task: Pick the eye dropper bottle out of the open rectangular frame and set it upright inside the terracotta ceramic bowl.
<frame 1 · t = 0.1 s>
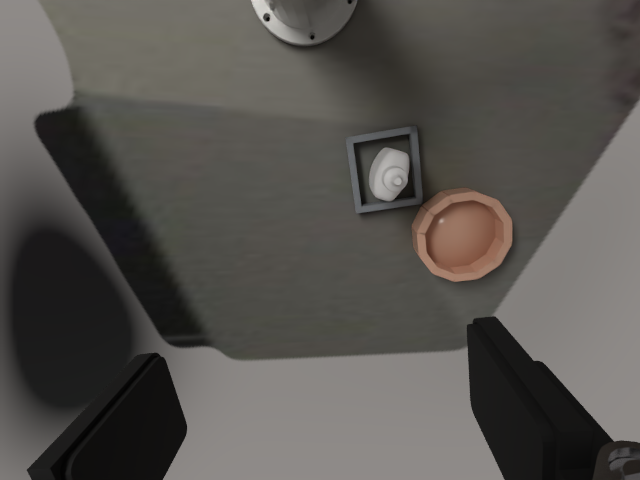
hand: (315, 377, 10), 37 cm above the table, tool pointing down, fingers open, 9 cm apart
eye dropper bottle: (383, 169, 44), resting in open rectangular frame
bowl: (455, 231, 46), on the table
open rectangular frame: (383, 170, 44), on the table
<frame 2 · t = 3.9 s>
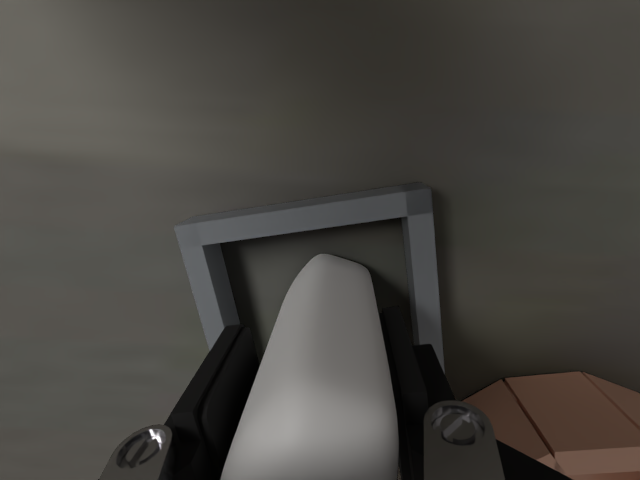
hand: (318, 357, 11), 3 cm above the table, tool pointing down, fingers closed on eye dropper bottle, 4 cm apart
eye dropper bottle: (323, 313, 14), resting in open rectangular frame, touching gripper
open rectangular frame: (322, 315, 14), on the table
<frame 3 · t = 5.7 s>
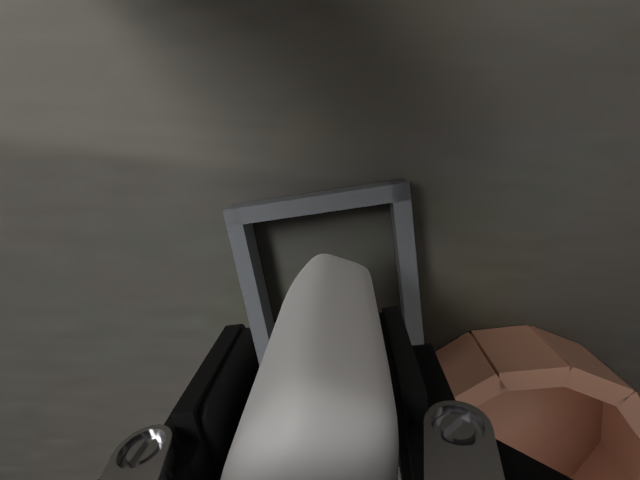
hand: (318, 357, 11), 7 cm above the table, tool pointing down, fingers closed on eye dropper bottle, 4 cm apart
eye dropper bottle: (323, 313, 14), point 4 cm above the table, touching gripper
bowl: (501, 415, 20), on the table
open rectangular frame: (330, 281, 18), on the table
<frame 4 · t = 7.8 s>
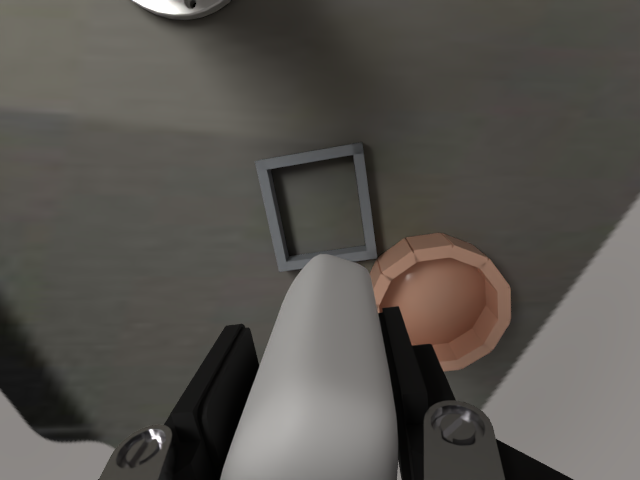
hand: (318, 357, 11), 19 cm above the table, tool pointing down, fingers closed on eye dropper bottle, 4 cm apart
eye dropper bottle: (322, 313, 14), point 16 cm above the table, touching gripper
bowl: (427, 294, 31), on the table
open rectangular frame: (319, 207, 30), on the table
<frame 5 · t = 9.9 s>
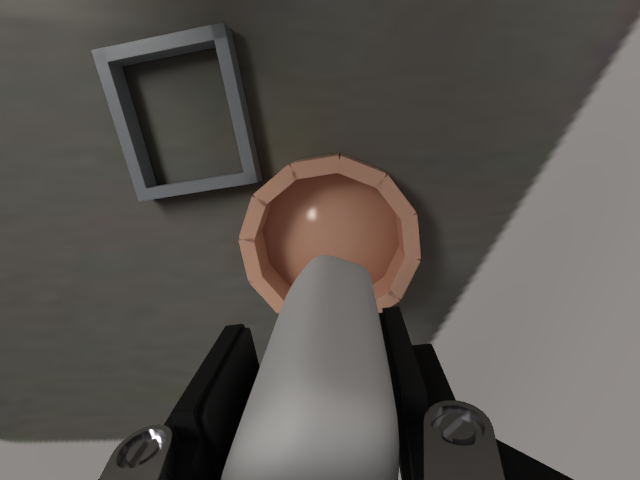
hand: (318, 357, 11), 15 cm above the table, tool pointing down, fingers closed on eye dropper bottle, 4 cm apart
eye dropper bottle: (323, 314, 14), point 12 cm above the table, touching gripper
bowl: (330, 234, 25), on the table
open rectangular frame: (187, 120, 23), on the table
when the fingers open (5 cm above the table, at t = 11.8 s): eye dropper bottle drops 1 cm, resting on bowl.
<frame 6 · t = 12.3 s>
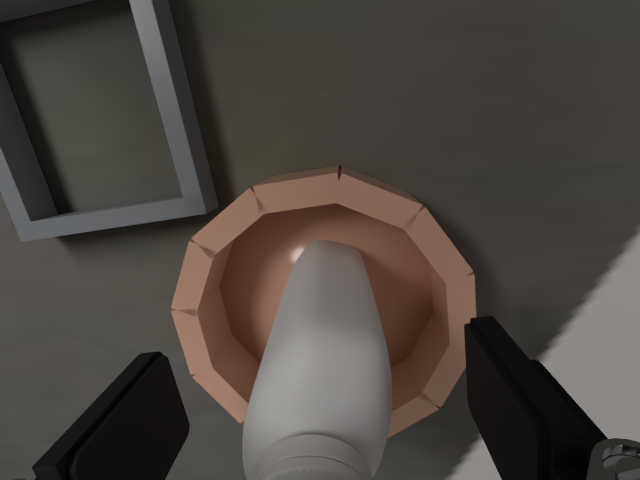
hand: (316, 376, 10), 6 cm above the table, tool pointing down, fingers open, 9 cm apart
eye dropper bottle: (321, 296, 15), point 1 cm above the table, touching bowl
bowl: (326, 289, 16), on the table
open rectangular frame: (97, 112, 15), on the table
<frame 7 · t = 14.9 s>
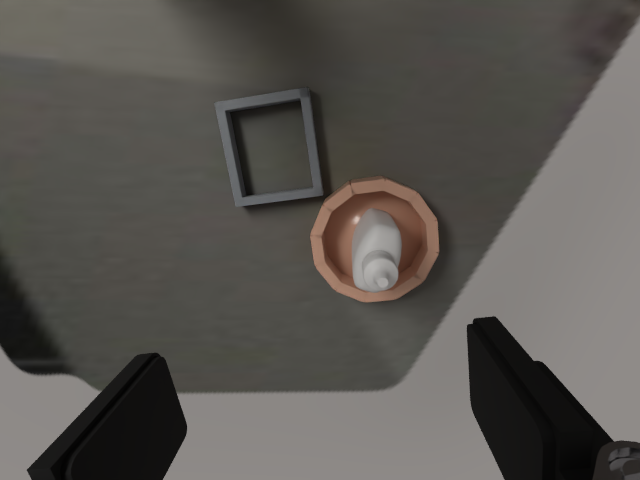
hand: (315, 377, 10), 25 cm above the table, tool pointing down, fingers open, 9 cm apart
eye dropper bottle: (370, 235, 34), point 1 cm above the table, touching bowl
bowl: (371, 234, 34), on the table
open rectangular frame: (273, 149, 33), on the table
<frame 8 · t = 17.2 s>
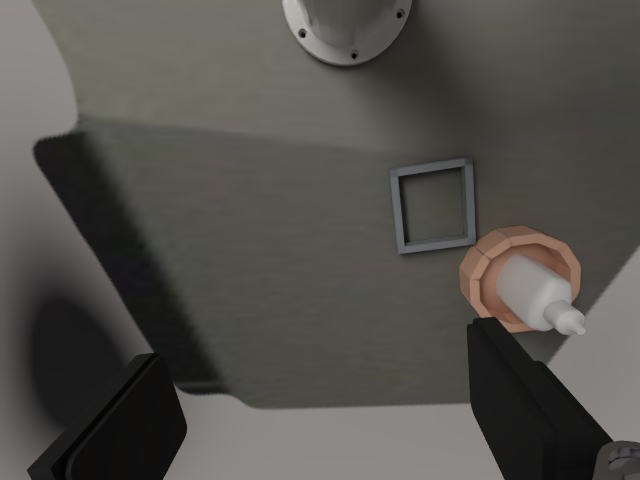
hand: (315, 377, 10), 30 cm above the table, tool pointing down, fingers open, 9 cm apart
eye dropper bottle: (511, 274, 40), point 1 cm above the table, touching bowl
bowl: (509, 273, 40), on the table
open rectangular frame: (430, 205, 39), on the table
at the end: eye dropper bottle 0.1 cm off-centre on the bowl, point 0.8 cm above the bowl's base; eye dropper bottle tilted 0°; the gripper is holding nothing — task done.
